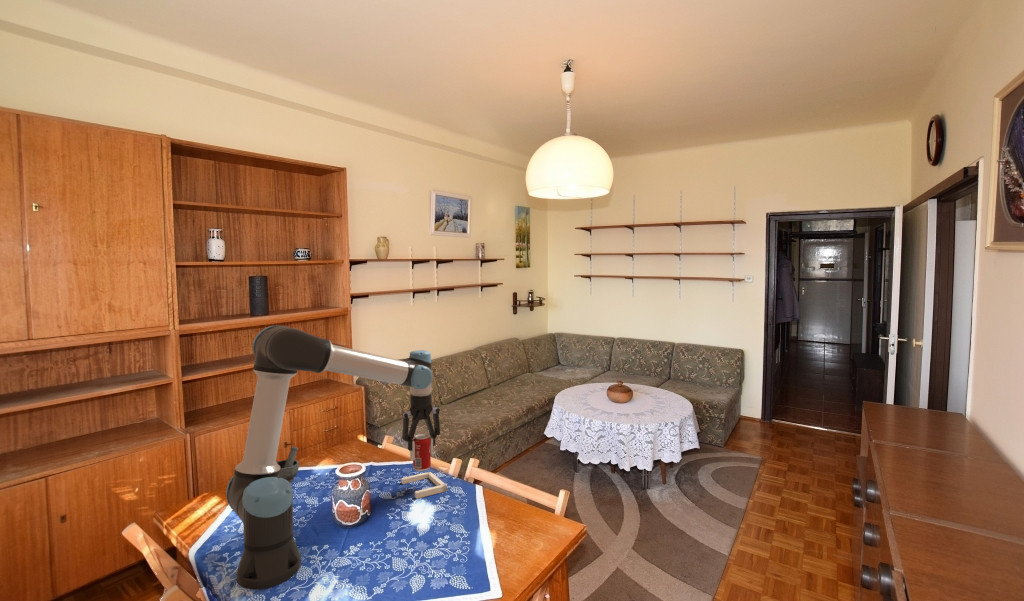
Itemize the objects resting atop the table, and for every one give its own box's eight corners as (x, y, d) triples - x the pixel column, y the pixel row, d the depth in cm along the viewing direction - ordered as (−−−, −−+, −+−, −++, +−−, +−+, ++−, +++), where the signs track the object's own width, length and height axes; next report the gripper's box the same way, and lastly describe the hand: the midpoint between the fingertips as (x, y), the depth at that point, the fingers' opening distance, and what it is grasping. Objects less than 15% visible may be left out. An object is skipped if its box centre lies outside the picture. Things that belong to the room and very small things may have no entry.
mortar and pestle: (286, 489, 175) (285, 456, 174) (264, 486, 177) (264, 453, 177) (307, 477, 185) (307, 446, 185) (287, 474, 188) (286, 443, 188)
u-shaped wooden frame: (447, 491, 173) (447, 485, 173) (416, 498, 167) (416, 493, 167) (430, 476, 185) (430, 471, 185) (401, 483, 179) (401, 478, 179)
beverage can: (434, 467, 176) (434, 435, 176) (422, 473, 171) (421, 440, 171) (421, 464, 180) (421, 432, 179) (409, 470, 174) (408, 437, 174)
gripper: (441, 388, 183) (441, 448, 184) (391, 395, 172) (392, 459, 173) (449, 392, 176) (450, 454, 177) (398, 399, 166) (399, 465, 167)
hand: (421, 456), depth 175 cm, fingers closed on beverage can, 6 cm apart
